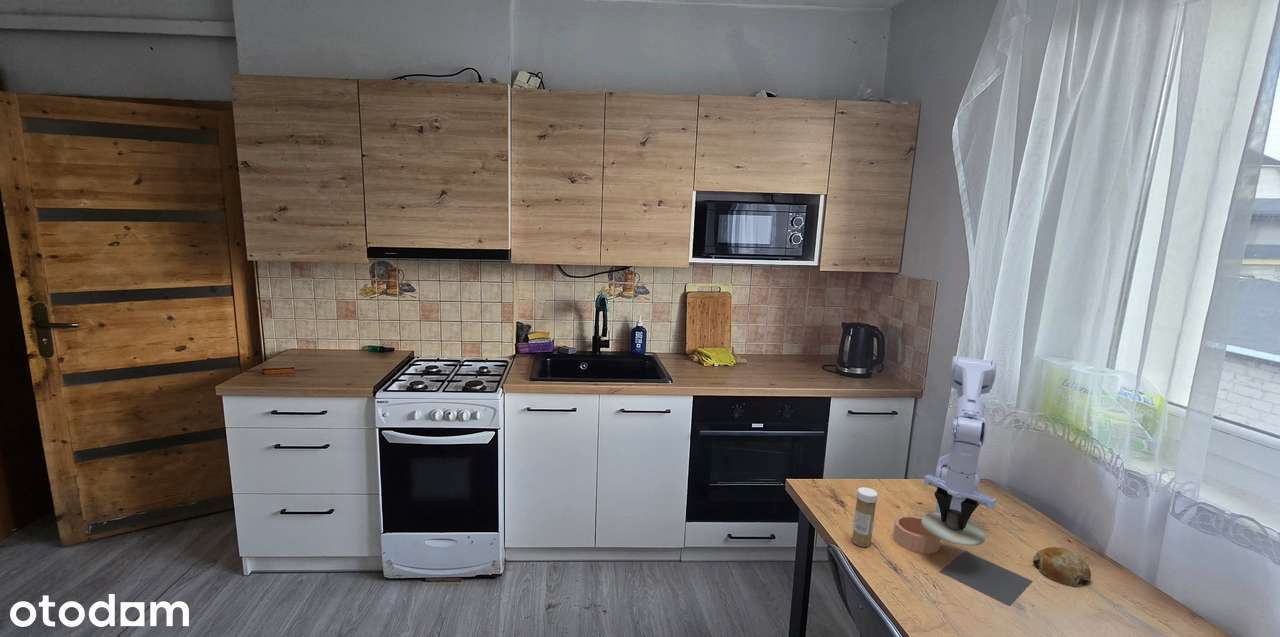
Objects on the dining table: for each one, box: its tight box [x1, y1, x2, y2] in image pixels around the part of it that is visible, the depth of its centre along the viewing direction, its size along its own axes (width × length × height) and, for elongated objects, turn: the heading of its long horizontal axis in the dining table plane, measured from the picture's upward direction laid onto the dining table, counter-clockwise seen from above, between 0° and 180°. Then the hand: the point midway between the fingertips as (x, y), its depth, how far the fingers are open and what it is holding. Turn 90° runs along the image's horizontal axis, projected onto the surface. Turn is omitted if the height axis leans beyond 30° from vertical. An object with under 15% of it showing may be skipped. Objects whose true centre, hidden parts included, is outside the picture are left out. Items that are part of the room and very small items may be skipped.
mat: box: [938, 550, 1034, 607], centre depth 126 cm, size 14×14×1 cm
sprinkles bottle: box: [851, 487, 879, 548], centre depth 137 cm, size 5×5×13 cm
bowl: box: [892, 514, 942, 555], centre depth 138 cm, size 10×10×4 cm
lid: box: [921, 509, 987, 547], centre depth 131 cm, size 13×13×4 cm
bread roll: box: [1032, 546, 1092, 588], centre depth 128 cm, size 10×10×8 cm
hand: (953, 524), depth 131 cm, fingers closed on lid, 3 cm apart
